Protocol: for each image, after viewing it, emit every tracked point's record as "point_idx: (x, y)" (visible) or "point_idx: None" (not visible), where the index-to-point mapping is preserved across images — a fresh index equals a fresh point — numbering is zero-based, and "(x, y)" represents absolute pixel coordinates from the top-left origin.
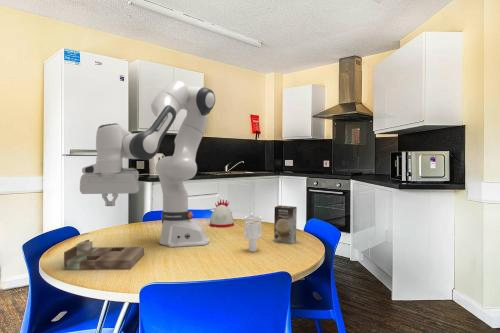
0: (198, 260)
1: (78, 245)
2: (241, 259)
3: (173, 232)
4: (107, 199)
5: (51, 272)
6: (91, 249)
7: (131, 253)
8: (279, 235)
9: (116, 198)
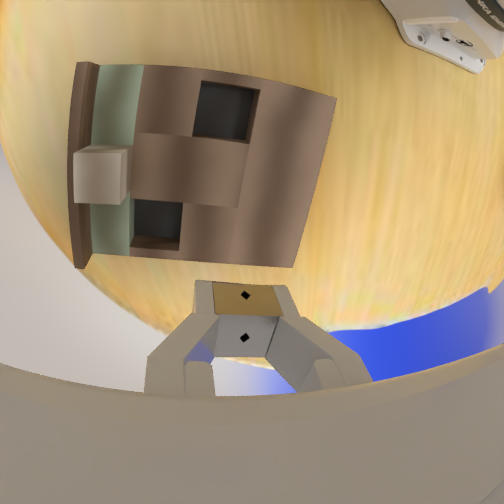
0: (438, 210)
1: (83, 200)
2: (486, 223)
3: (444, 23)
4: (208, 342)
5: (71, 254)
6: (129, 158)
7: (292, 188)
8: None
9: (326, 344)
